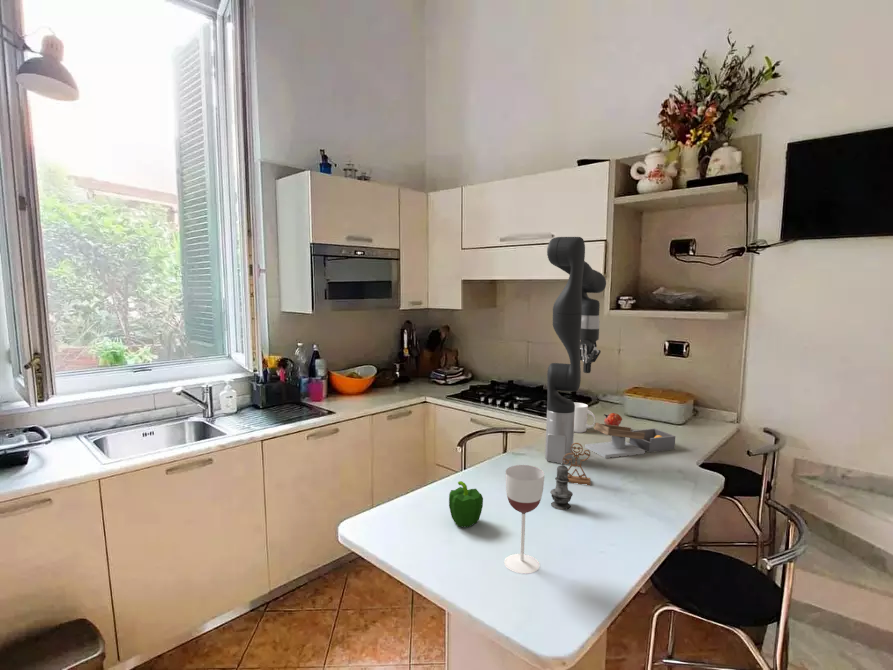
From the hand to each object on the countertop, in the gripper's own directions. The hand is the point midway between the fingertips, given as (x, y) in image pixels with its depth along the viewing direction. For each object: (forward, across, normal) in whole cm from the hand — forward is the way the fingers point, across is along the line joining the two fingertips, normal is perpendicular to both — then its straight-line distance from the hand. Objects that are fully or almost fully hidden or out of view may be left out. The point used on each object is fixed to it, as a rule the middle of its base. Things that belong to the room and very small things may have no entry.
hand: (586, 372), depth 185 cm
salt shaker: (+27, -46, +39) cm, 66 cm away
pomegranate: (+27, +11, -22) cm, 37 cm away
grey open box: (+27, -12, -22) cm, 37 cm away
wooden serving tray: (+21, -9, -6) cm, 24 cm away
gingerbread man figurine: (+27, -32, +25) cm, 49 cm away
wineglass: (+27, -68, +62) cm, 96 cm away
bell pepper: (+27, -47, +67) cm, 87 cm away
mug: (+27, +13, -7) cm, 31 cm away
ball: (+25, -12, -25) cm, 37 cm away
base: (+27, -12, -5) cm, 30 cm away
